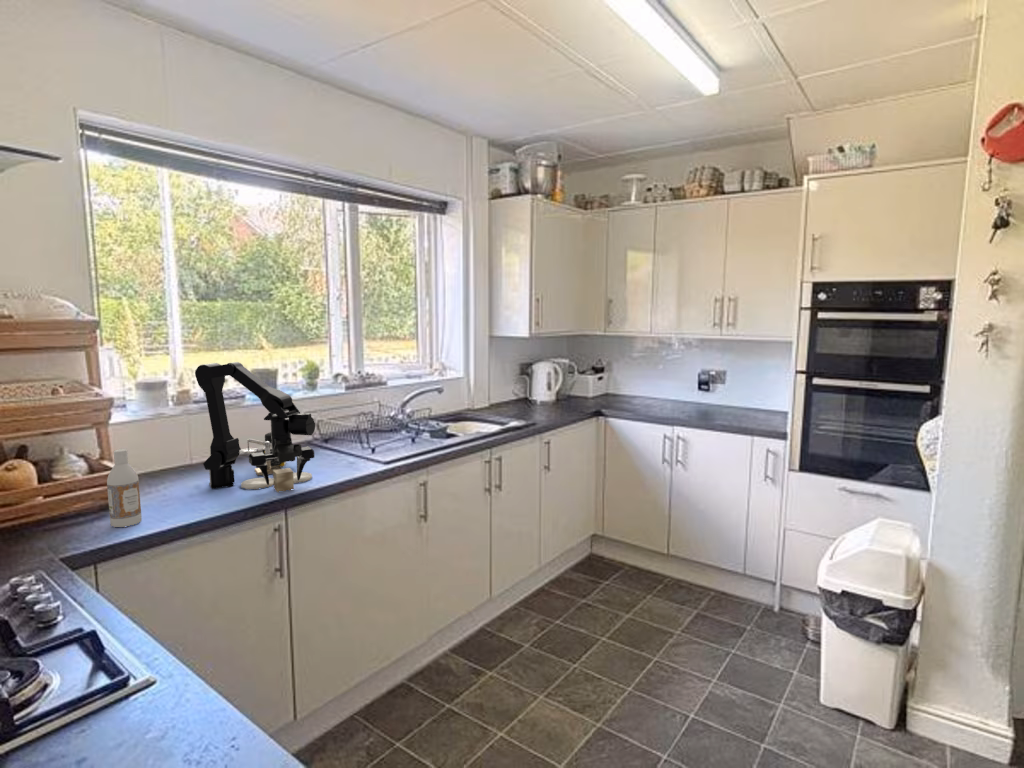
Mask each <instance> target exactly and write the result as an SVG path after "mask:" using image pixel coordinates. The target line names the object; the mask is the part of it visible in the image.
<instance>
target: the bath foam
mask: <svg viewBox="0 0 1024 768" xmlns="http://www.w3.org/2000/svg"><path fill="white" fill-rule="evenodd" d="M113 458H114V459H113V460H114V465H113V467H112V468H111V469H110V471H109V473H108V476H107V479H106V489H107V500H108V511H109V523H110V526H111V527H112V526H114V527H113V528H115V527H124V528H126V527H125V526H130V525H133V526H135V525H134V524H136V525H138V524H140V523H141V522H142V519H143V518H142V509H141V507H142V505H141V493H140V479H139V475H138V473H137V471H136V470H135V469H134V467H133V466H132V465H131V464H130V463H129V456H128V450H127V448H123V449H122V448H119V449H116V450H114V451H113ZM139 522H140V523H139ZM137 523H138V524H137ZM130 527H131V526H130Z"/></svg>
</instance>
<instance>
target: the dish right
mask: <svg viewBox="0 0 1024 768" xmlns="http://www.w3.org/2000/svg"><path fill="white" fill-rule="evenodd" d="M311 478H313V474H312V473H310V472H307V471H302V473H301V476H300V480H297V471H296V472H293V479H294V484H300V483H299V482H302V483H305V481H306V482H309V481H310V479H311ZM308 480H309V481H308ZM311 480H312V479H311Z"/></svg>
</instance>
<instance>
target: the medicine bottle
mask: <svg viewBox="0 0 1024 768" xmlns="http://www.w3.org/2000/svg"><path fill="white" fill-rule="evenodd" d="M266 441H269V442H270V443H272V440H271V431H269V432H266V434H265V435H264V442H266ZM262 453H263V454H264V455H265V446H264V445H263V448H262ZM270 454H272V447H270ZM276 457H277V456H276ZM286 463H287V462H284V463H281V462H279V461H277V459H276V460H271V466H277V465H279V466H280V467H281V468H282V467H283V466H284V467H285V466H286ZM265 464H266V462H265ZM284 467H283V468H284Z"/></svg>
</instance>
